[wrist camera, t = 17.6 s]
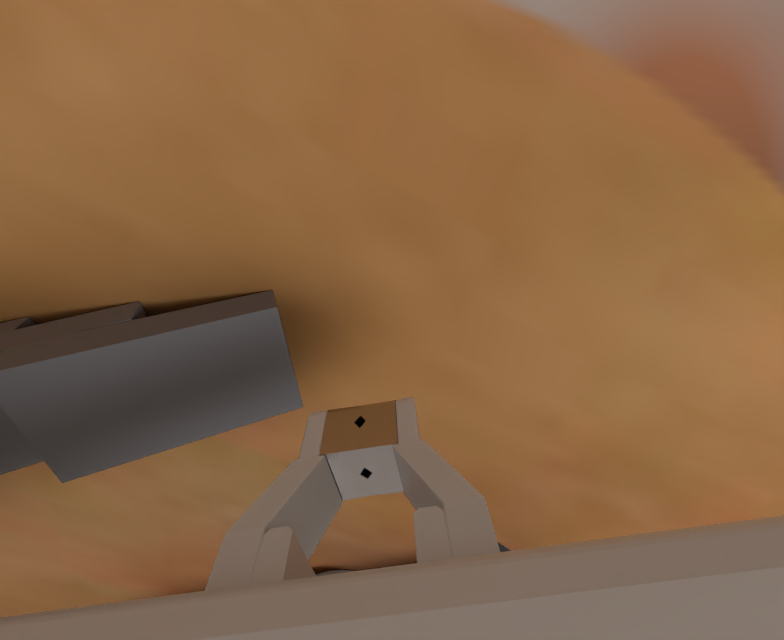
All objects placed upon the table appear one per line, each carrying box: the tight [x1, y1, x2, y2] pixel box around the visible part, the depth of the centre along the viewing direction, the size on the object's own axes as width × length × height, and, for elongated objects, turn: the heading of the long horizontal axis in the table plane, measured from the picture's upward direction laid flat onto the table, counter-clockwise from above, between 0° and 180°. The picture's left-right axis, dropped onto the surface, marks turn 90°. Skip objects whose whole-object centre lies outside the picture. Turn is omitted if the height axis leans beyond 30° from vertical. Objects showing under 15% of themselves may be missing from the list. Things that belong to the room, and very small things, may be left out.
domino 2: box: [0, 290, 303, 483], centre depth 14 cm, size 2×5×9 cm
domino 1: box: [0, 301, 147, 475], centre depth 14 cm, size 2×5×9 cm
